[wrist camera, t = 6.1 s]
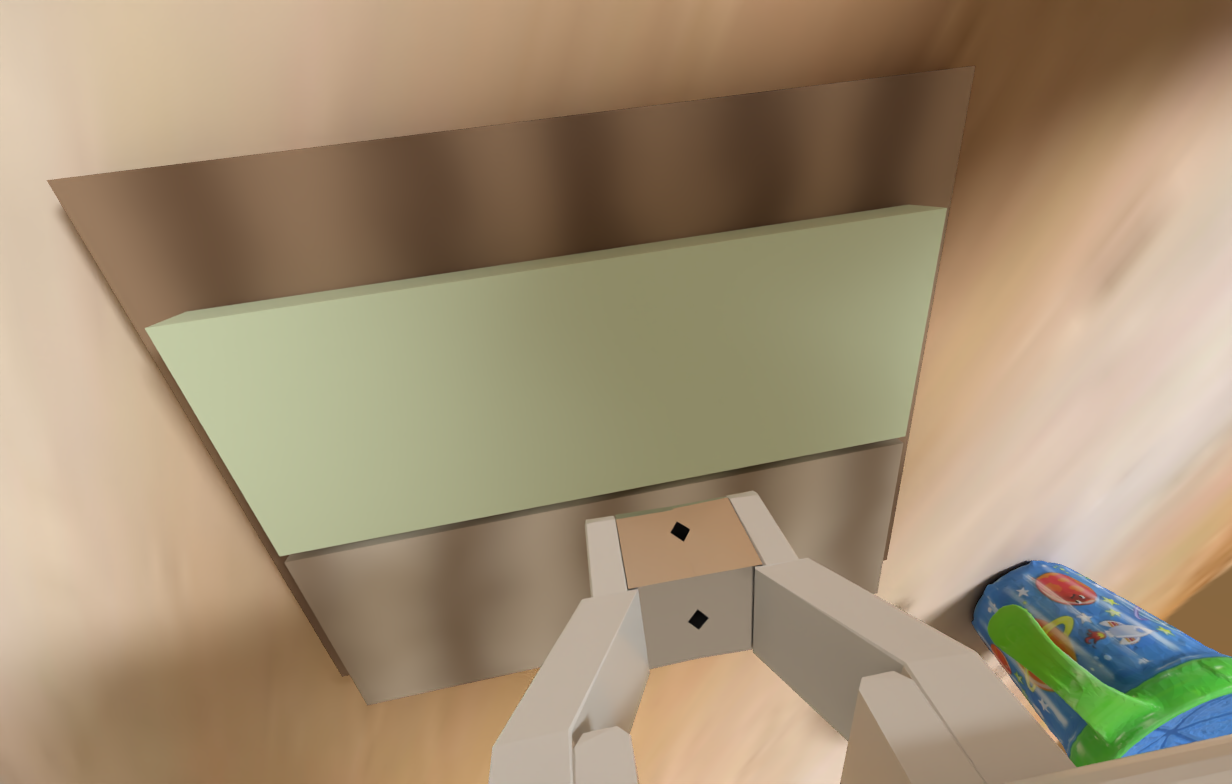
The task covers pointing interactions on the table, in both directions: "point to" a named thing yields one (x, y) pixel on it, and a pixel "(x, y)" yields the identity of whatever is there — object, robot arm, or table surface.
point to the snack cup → (1102, 665)
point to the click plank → (559, 374)
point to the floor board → (510, 233)
